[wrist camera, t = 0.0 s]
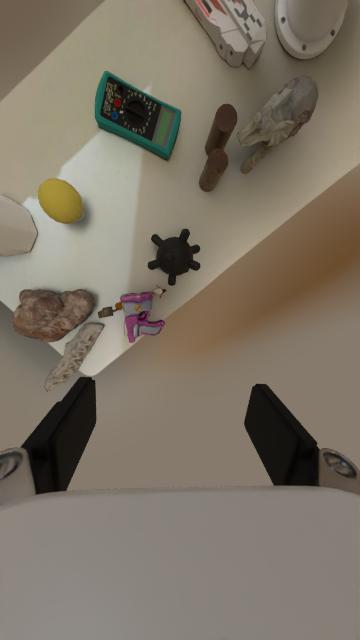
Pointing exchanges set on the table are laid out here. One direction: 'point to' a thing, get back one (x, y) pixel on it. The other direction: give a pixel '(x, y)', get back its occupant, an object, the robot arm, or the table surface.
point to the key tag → (109, 310)
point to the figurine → (279, 118)
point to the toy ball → (174, 256)
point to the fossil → (73, 355)
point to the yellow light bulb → (60, 201)
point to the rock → (51, 313)
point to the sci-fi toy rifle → (232, 28)
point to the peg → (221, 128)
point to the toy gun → (139, 316)
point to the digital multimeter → (136, 115)
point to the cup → (15, 228)
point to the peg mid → (213, 169)
